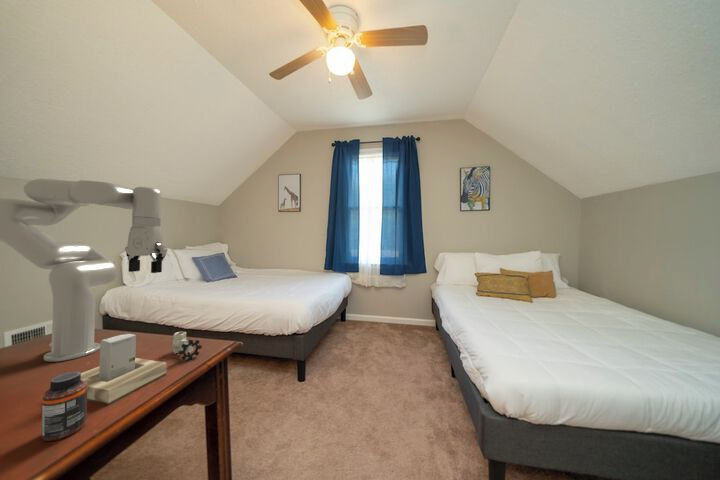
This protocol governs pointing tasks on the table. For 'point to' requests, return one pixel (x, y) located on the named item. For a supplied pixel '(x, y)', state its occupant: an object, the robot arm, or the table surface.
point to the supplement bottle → (64, 406)
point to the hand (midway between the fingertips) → (145, 272)
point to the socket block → (122, 381)
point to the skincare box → (117, 356)
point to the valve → (184, 345)
